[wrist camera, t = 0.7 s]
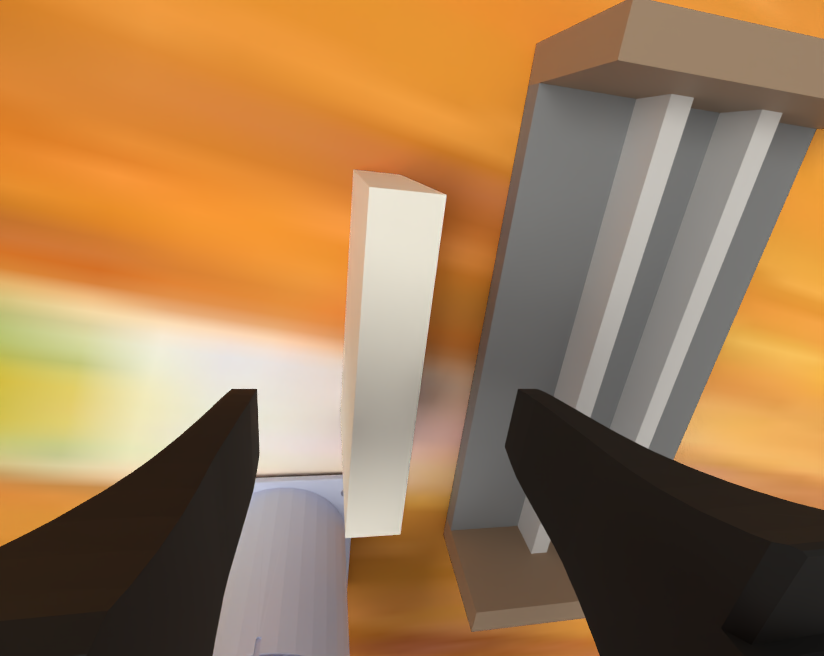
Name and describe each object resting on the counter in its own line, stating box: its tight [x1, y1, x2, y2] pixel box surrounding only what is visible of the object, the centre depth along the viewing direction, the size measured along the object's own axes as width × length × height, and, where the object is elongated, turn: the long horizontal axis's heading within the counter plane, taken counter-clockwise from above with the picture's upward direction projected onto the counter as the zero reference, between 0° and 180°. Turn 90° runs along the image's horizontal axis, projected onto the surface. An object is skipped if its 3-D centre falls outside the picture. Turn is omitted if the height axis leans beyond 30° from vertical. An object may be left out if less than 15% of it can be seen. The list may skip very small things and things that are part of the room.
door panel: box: [340, 170, 447, 538], centre depth 17 cm, size 12×2×8 cm, turn 174°
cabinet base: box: [443, 0, 824, 632], centre depth 21 cm, size 27×14×6 cm, turn 174°
